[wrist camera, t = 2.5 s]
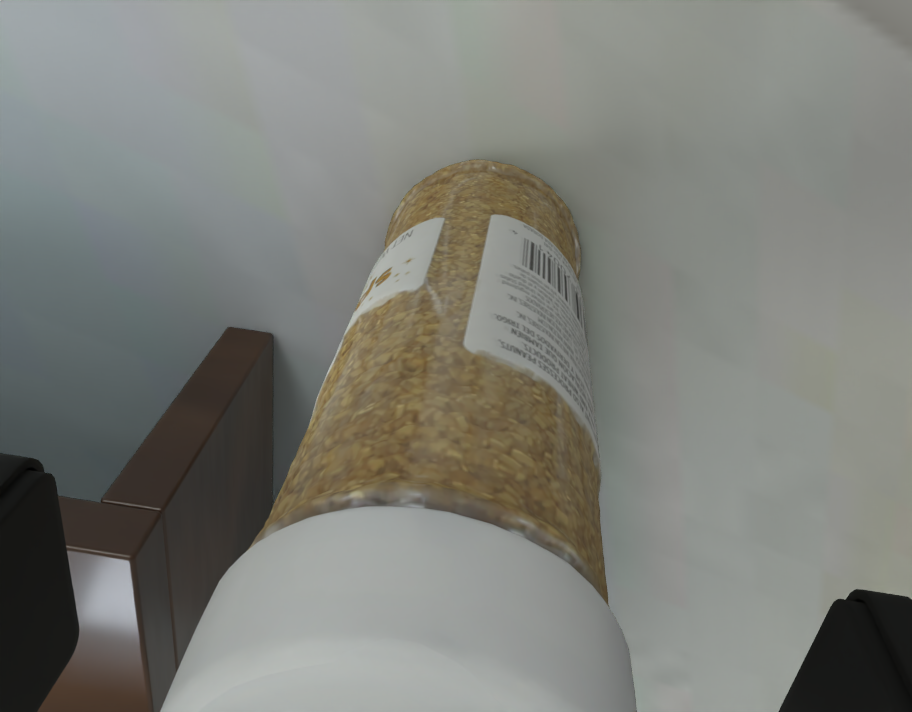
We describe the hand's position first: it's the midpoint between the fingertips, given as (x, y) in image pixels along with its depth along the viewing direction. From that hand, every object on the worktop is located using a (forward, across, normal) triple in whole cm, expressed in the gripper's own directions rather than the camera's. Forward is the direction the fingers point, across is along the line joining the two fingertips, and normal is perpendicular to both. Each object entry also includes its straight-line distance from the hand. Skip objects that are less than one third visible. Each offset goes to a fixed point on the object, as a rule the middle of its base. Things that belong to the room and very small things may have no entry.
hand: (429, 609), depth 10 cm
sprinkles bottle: (+11, 0, 0) cm, 11 cm away
